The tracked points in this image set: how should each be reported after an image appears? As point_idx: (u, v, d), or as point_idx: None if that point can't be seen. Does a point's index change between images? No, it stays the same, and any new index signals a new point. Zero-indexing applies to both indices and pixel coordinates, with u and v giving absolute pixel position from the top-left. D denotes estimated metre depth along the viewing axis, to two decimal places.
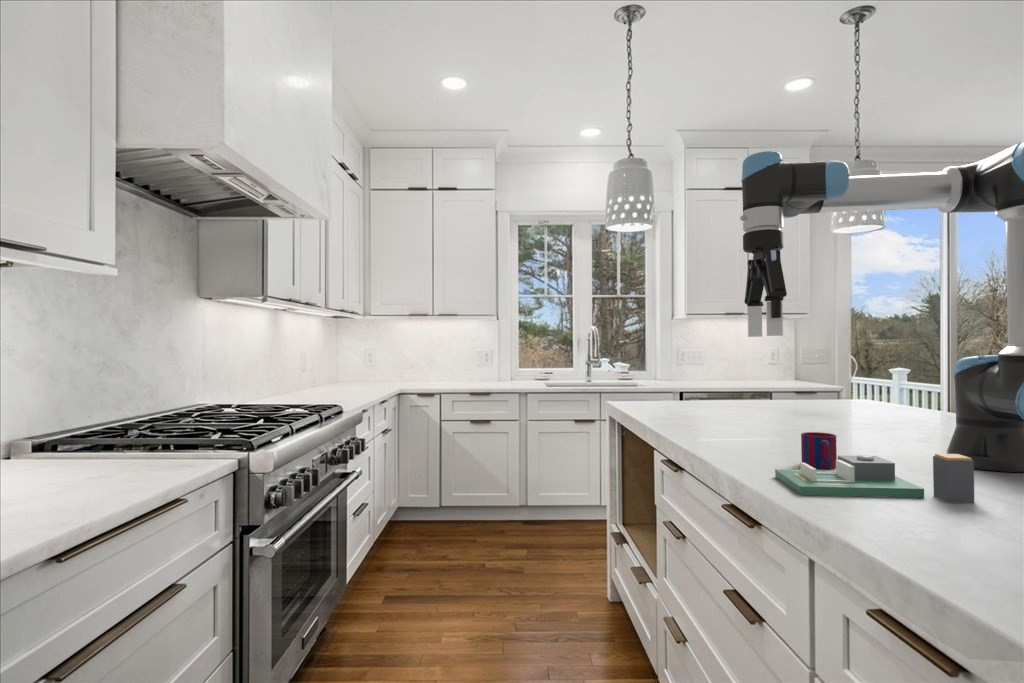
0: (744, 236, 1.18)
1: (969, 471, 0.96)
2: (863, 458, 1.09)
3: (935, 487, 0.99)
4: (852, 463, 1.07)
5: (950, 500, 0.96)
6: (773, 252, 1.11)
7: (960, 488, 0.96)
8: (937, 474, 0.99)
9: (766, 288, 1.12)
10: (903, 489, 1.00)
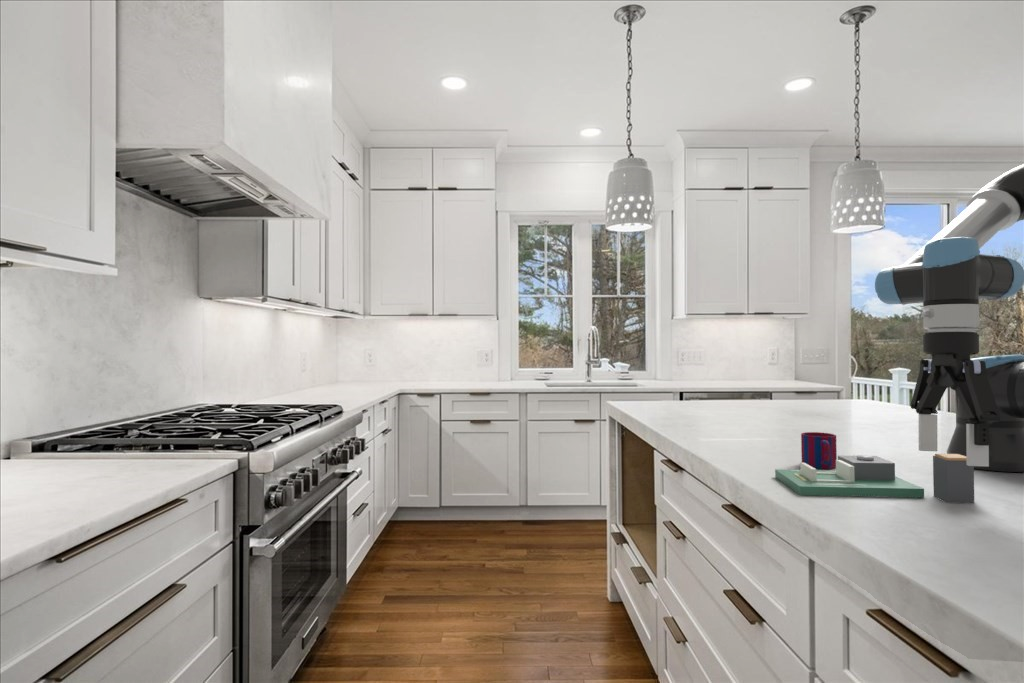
0: (928, 336, 0.98)
1: (969, 471, 0.96)
2: (863, 458, 1.09)
3: (935, 487, 0.99)
4: (852, 463, 1.07)
5: (950, 500, 0.96)
6: (977, 363, 0.91)
7: (960, 488, 0.96)
8: (937, 474, 0.99)
9: (966, 406, 0.92)
10: (903, 489, 1.00)
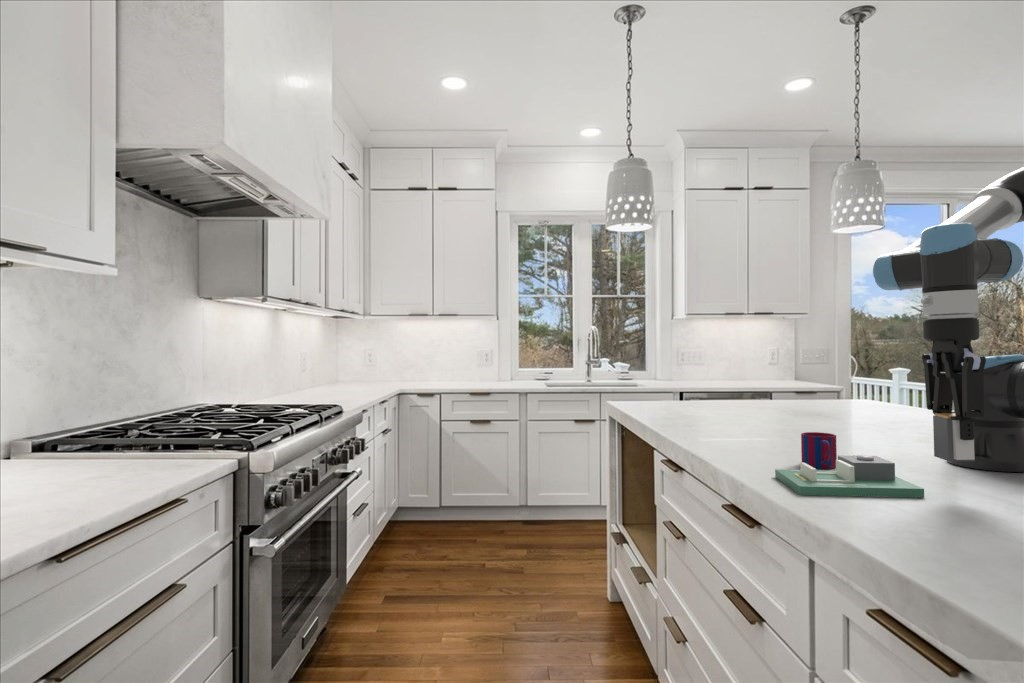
0: (928, 323, 0.98)
1: None
2: (863, 458, 1.09)
3: (935, 446, 1.00)
4: (852, 463, 1.07)
5: (950, 458, 0.96)
6: (977, 361, 0.91)
7: None
8: (937, 433, 0.99)
9: (955, 401, 0.95)
10: (903, 489, 1.00)
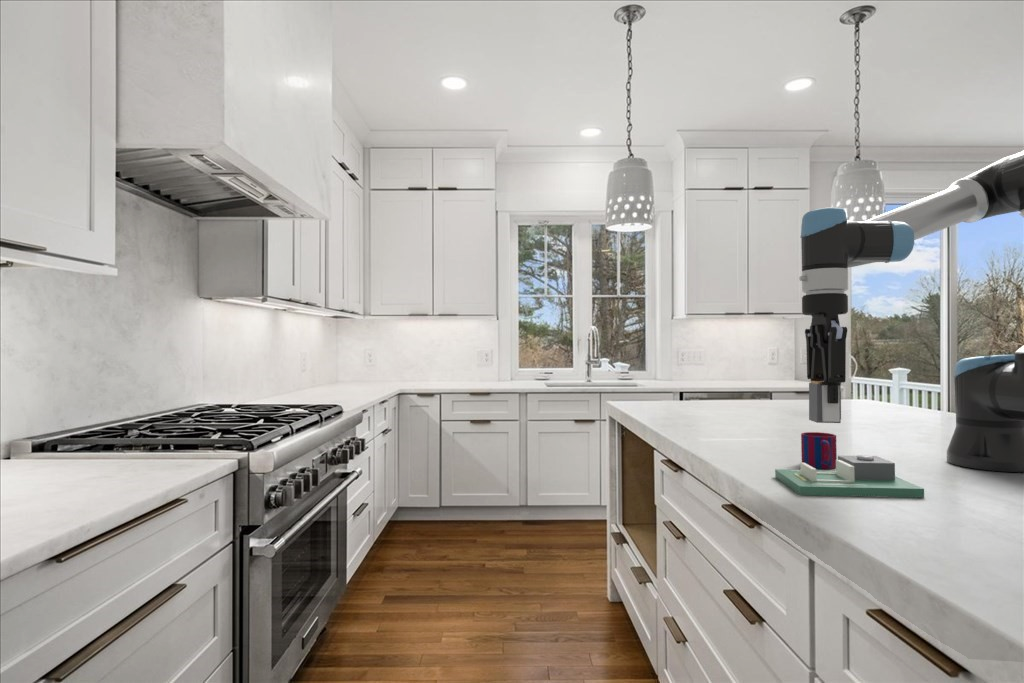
0: (804, 298, 1.08)
1: None
2: (863, 458, 1.09)
3: (810, 411, 1.10)
4: (852, 463, 1.07)
5: (819, 420, 1.06)
6: (839, 331, 1.01)
7: None
8: (811, 399, 1.09)
9: (824, 368, 1.05)
10: (903, 489, 1.00)
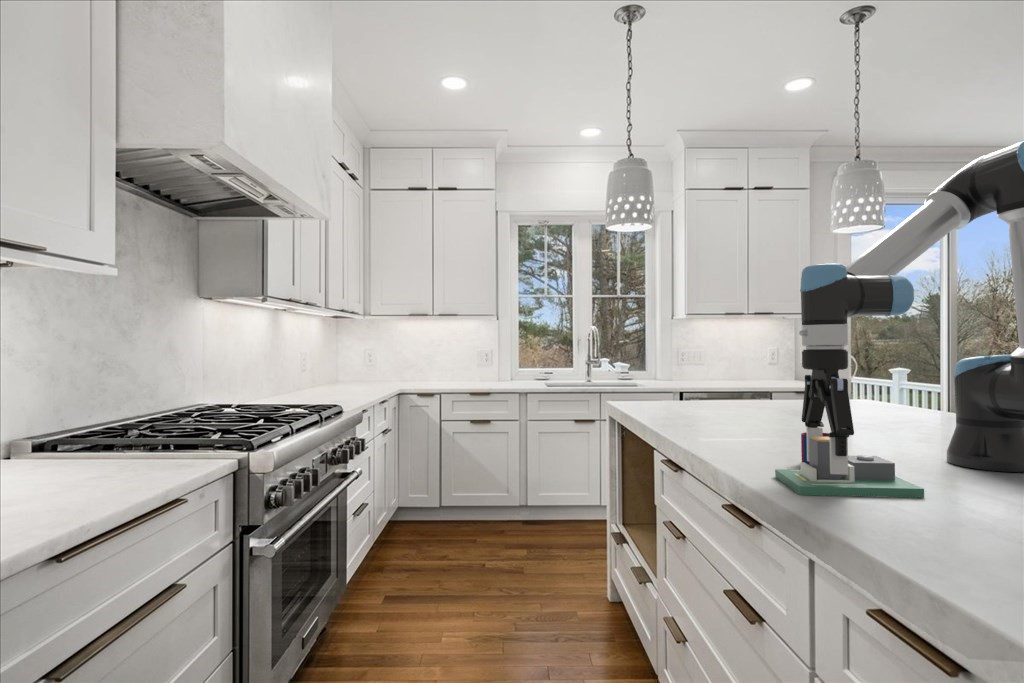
0: (804, 353, 1.08)
1: None
2: (863, 458, 1.09)
3: None
4: (852, 463, 1.07)
5: (820, 478, 1.06)
6: (840, 382, 1.01)
7: (829, 467, 1.06)
8: (811, 455, 1.09)
9: (830, 420, 1.03)
10: (903, 489, 1.00)
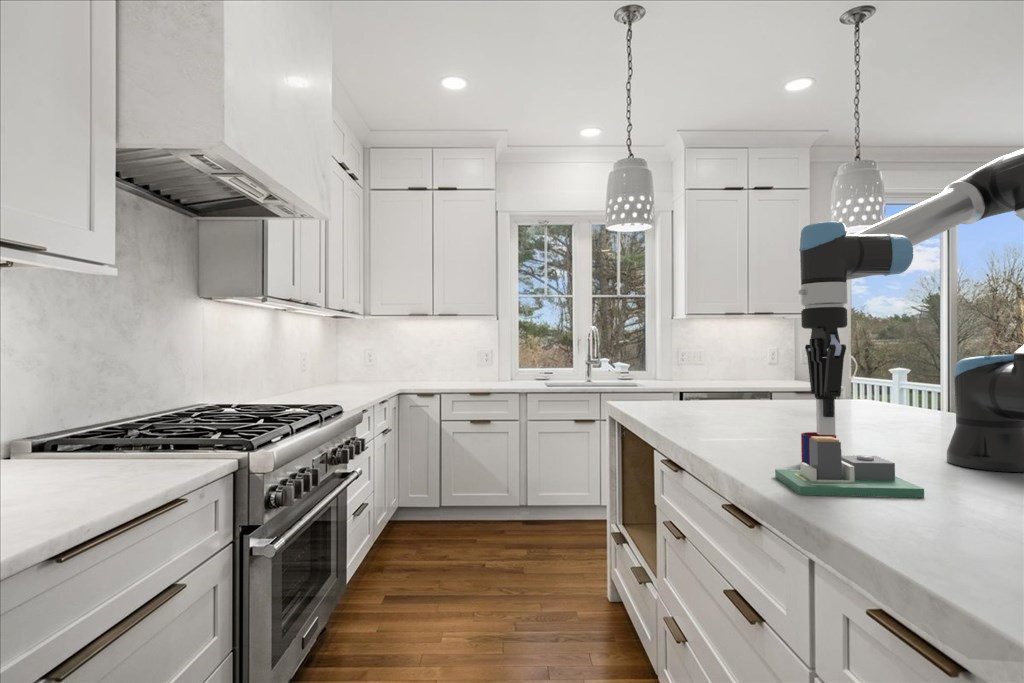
0: (803, 312, 1.08)
1: (837, 451, 1.06)
2: (863, 458, 1.09)
3: None
4: (852, 463, 1.07)
5: (820, 478, 1.06)
6: (838, 349, 1.02)
7: (829, 467, 1.06)
8: (811, 455, 1.09)
9: (821, 382, 1.07)
10: (903, 489, 1.00)
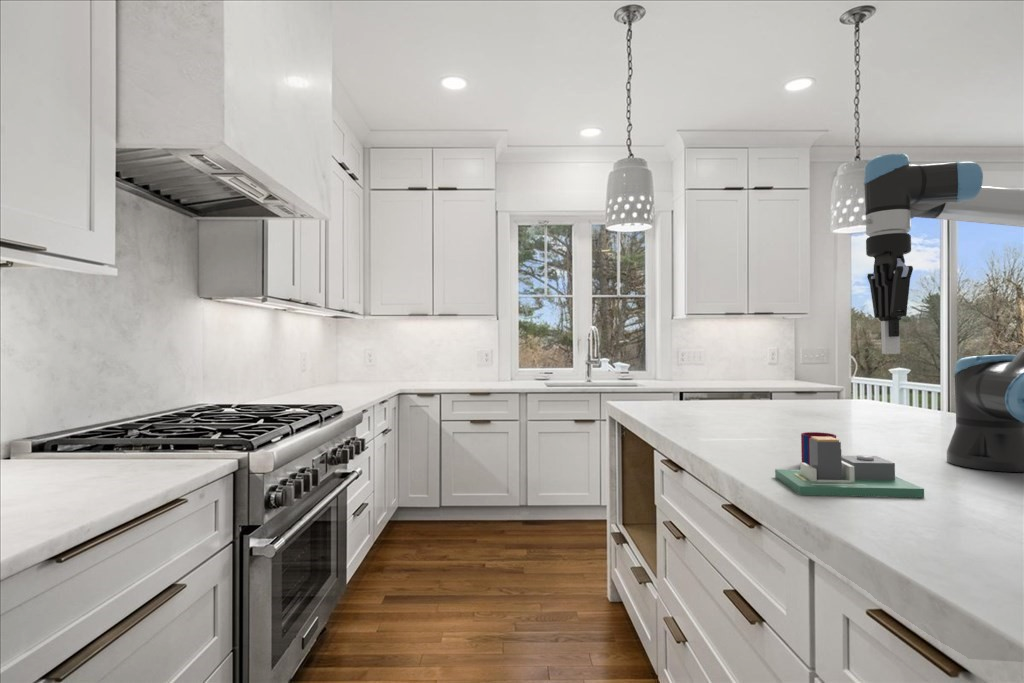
0: (869, 240, 1.16)
1: (837, 451, 1.06)
2: (863, 458, 1.09)
3: None
4: (852, 463, 1.07)
5: (820, 478, 1.06)
6: (905, 270, 1.10)
7: (829, 467, 1.06)
8: (811, 455, 1.09)
9: (886, 304, 1.14)
10: (903, 489, 1.00)
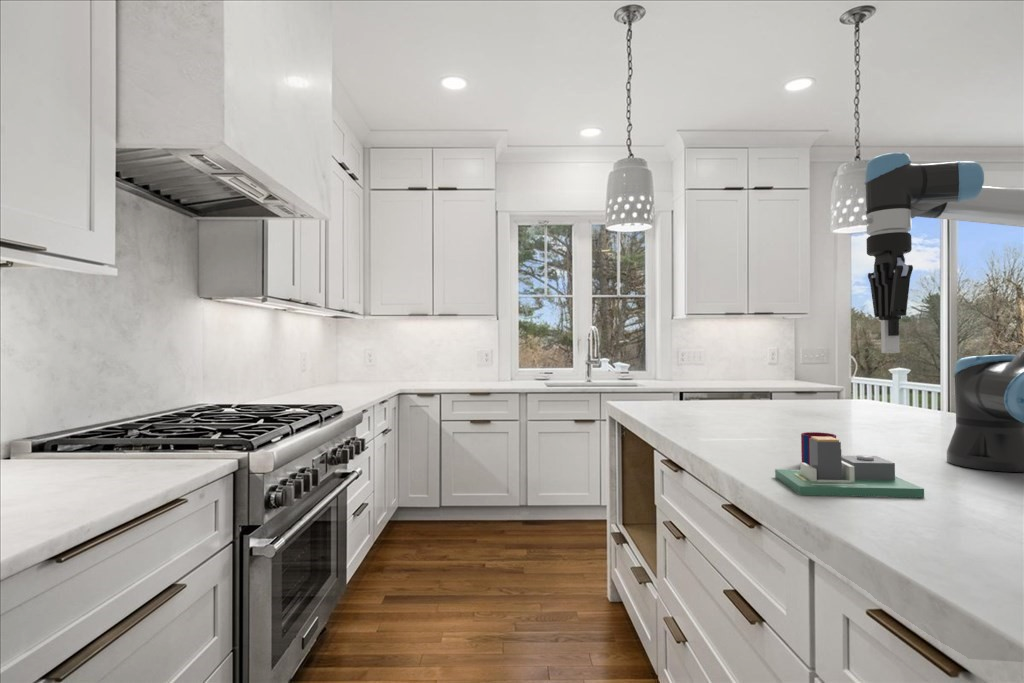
0: (869, 239, 1.16)
1: (837, 451, 1.06)
2: (863, 458, 1.09)
3: None
4: (852, 463, 1.07)
5: (820, 478, 1.06)
6: (905, 269, 1.10)
7: (829, 467, 1.06)
8: (811, 455, 1.09)
9: (886, 304, 1.15)
10: (903, 489, 1.00)
